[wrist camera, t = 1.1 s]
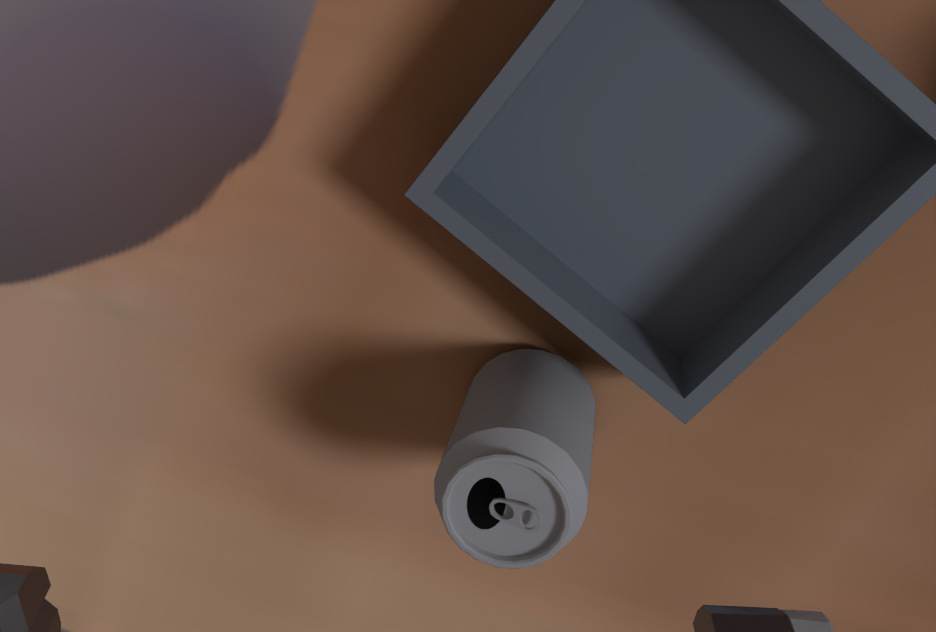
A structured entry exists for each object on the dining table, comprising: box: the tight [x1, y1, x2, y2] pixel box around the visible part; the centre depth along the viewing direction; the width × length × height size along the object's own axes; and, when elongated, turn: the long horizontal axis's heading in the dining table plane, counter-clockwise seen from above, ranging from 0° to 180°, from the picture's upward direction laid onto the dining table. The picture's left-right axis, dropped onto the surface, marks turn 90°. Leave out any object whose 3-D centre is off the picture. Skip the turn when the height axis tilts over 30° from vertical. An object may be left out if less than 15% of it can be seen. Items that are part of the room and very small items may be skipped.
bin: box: [405, 0, 936, 424], centre depth 43 cm, size 18×18×6 cm
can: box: [434, 349, 596, 569], centre depth 46 cm, size 8×8×12 cm
